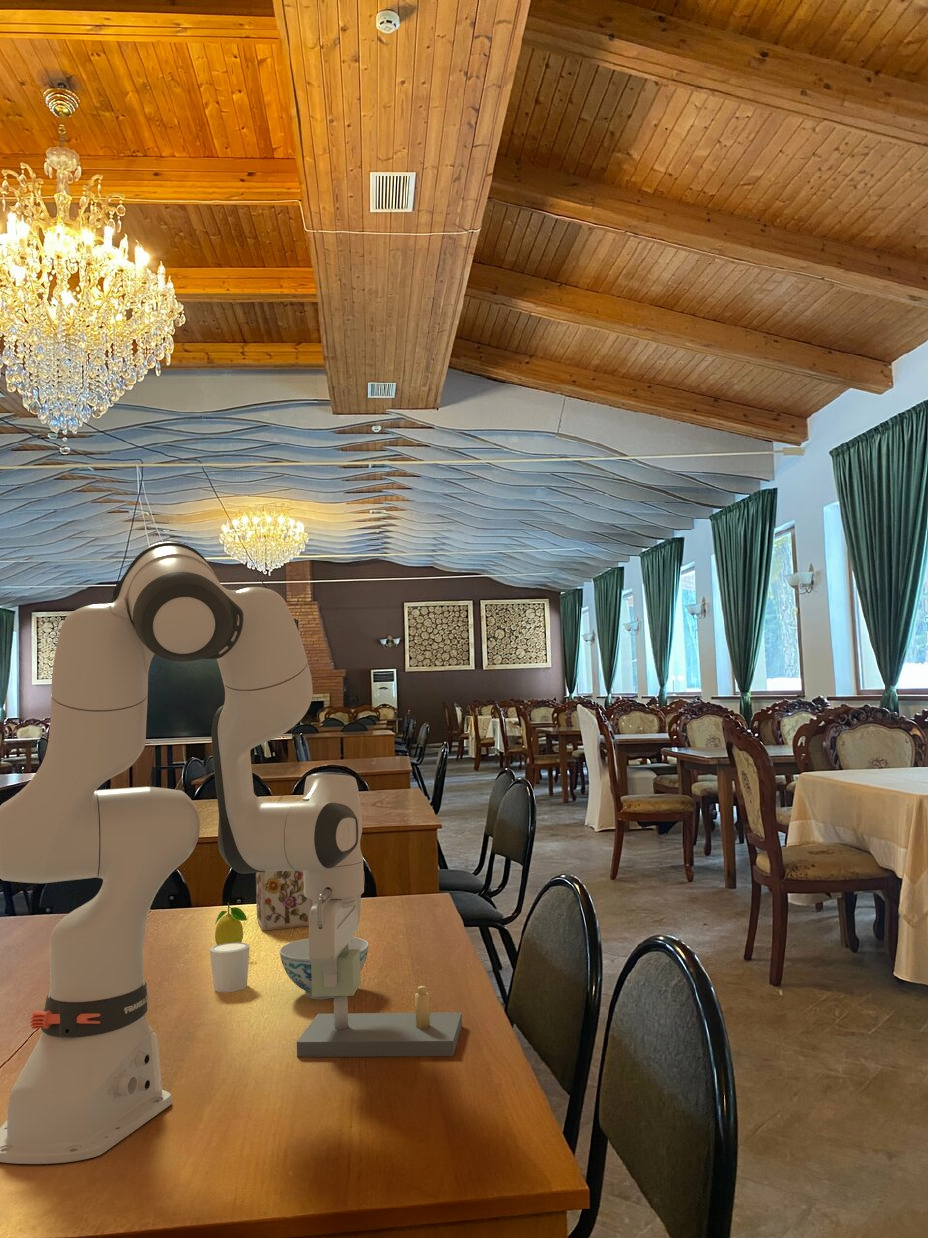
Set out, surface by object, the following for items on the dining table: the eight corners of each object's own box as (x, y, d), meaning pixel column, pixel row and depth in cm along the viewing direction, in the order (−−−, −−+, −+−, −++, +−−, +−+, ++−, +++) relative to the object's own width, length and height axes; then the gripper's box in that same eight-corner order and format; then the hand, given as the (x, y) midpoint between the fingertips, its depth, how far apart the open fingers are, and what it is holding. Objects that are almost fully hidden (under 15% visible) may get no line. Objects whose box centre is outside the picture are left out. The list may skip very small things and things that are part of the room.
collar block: (353, 995, 137) (352, 960, 138) (312, 996, 138) (311, 960, 138) (360, 983, 143) (359, 949, 144) (320, 984, 143) (320, 950, 144)
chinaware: (284, 1012, 153) (283, 963, 154) (277, 986, 168) (276, 941, 168) (377, 1000, 157) (375, 952, 158) (362, 976, 172) (360, 932, 172)
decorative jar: (256, 920, 220) (254, 841, 222) (307, 915, 224) (305, 837, 225) (261, 932, 209) (259, 848, 210) (314, 926, 212) (312, 844, 214)
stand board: (453, 1056, 132) (451, 1000, 132) (297, 1057, 134) (295, 1001, 134) (462, 1026, 143) (460, 974, 144) (318, 1027, 145) (316, 976, 146)
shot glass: (240, 994, 164) (239, 952, 165) (203, 993, 166) (202, 951, 166) (256, 982, 171) (255, 942, 172) (221, 981, 172) (220, 941, 173)
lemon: (247, 955, 190) (246, 903, 191) (217, 959, 188) (216, 907, 188) (242, 947, 196) (241, 897, 197) (213, 951, 194) (212, 901, 195)
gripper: (341, 895, 131) (344, 1000, 130) (366, 870, 152) (368, 959, 150) (296, 897, 132) (298, 1001, 130) (326, 871, 152) (329, 960, 151)
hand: (336, 978), depth 140 cm, fingers closed on collar block, 6 cm apart
